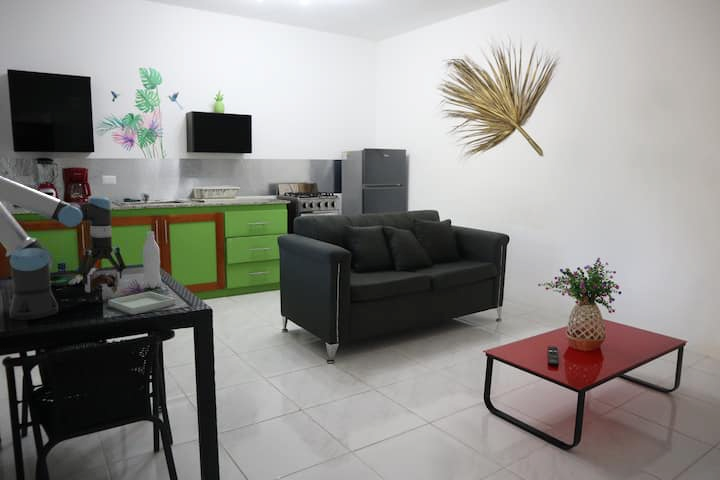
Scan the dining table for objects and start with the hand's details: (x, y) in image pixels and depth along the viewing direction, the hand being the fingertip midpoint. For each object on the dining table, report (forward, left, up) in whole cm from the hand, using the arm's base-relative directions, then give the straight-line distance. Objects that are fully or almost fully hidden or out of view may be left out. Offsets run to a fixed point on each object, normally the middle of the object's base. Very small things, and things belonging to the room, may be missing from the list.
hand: (102, 289), depth 211 cm
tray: (+4, -21, -4) cm, 22 cm away
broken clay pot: (0, -1, -1) cm, 1 cm away
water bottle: (+23, +3, -4) cm, 24 cm away
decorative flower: (-1, +37, -4) cm, 37 cm away
